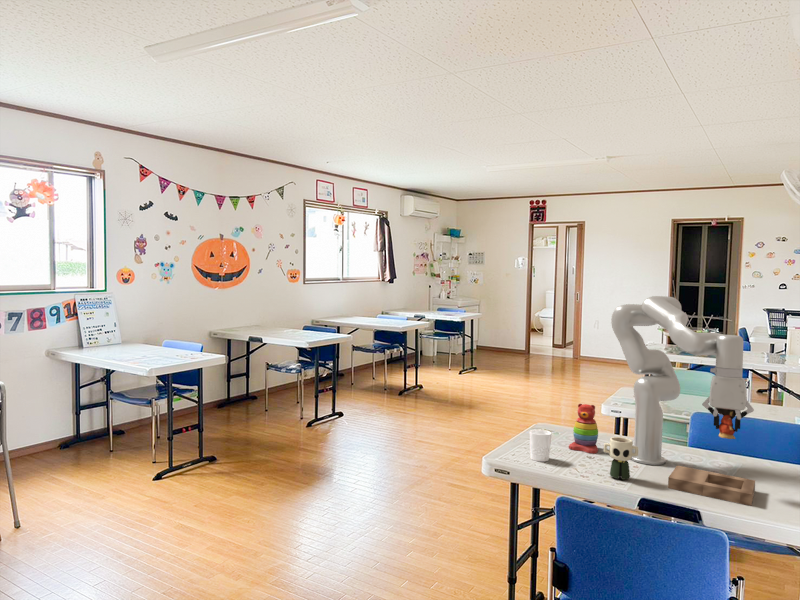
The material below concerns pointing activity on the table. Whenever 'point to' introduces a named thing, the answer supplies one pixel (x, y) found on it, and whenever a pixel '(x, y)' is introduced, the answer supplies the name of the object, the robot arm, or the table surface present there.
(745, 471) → the table surface
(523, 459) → the table surface
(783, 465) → the table surface
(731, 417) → the figurine
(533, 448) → the white cup
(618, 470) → the character mug
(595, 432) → the stacking bear
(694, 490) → the jig
